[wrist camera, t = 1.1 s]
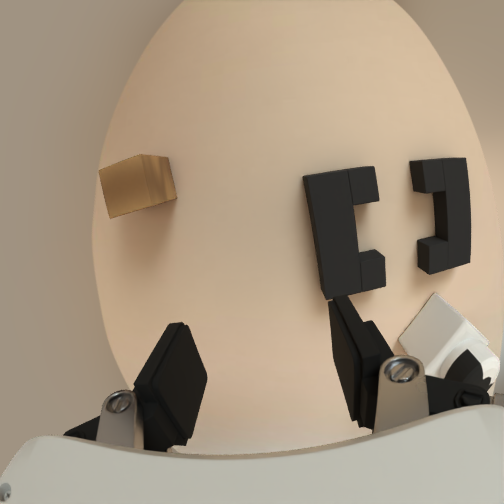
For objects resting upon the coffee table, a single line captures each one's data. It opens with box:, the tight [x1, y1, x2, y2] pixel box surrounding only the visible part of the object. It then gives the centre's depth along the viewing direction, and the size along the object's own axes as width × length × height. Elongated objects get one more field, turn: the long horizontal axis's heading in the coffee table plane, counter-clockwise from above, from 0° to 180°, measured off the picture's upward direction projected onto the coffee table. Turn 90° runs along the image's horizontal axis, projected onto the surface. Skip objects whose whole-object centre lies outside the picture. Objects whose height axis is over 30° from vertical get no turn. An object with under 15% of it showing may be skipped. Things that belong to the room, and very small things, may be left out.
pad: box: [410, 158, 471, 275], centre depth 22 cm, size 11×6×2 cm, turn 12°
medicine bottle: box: [398, 293, 500, 391], centre depth 21 cm, size 7×7×12 cm
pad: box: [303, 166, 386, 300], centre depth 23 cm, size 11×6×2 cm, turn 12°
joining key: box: [99, 154, 177, 219], centre depth 21 cm, size 4×4×6 cm
